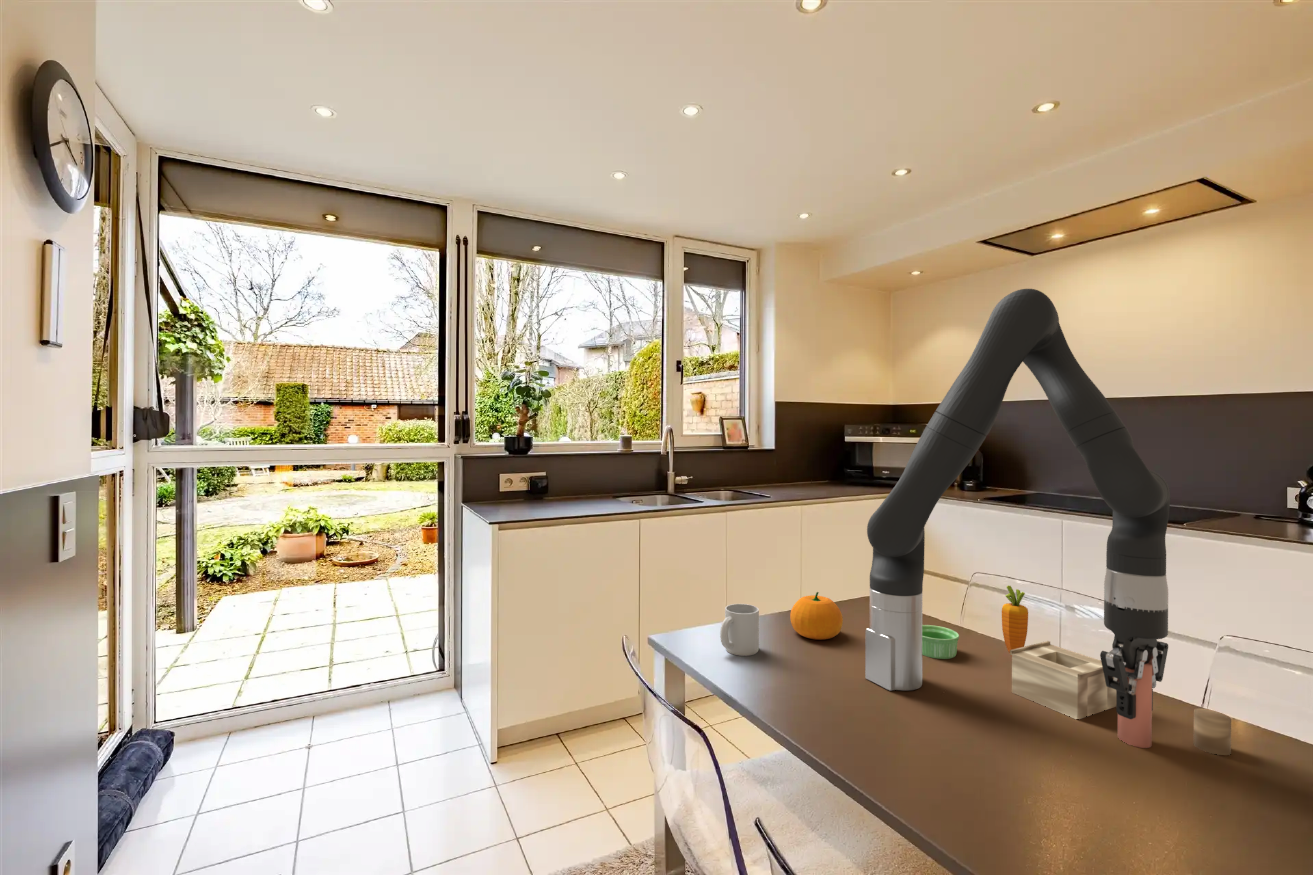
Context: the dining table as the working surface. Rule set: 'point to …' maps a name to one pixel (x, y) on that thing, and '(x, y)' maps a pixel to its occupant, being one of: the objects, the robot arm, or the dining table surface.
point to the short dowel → (1212, 731)
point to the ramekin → (939, 642)
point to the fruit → (816, 617)
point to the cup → (740, 629)
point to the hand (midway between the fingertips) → (1134, 712)
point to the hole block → (1061, 680)
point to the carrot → (1014, 621)
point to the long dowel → (1139, 713)
